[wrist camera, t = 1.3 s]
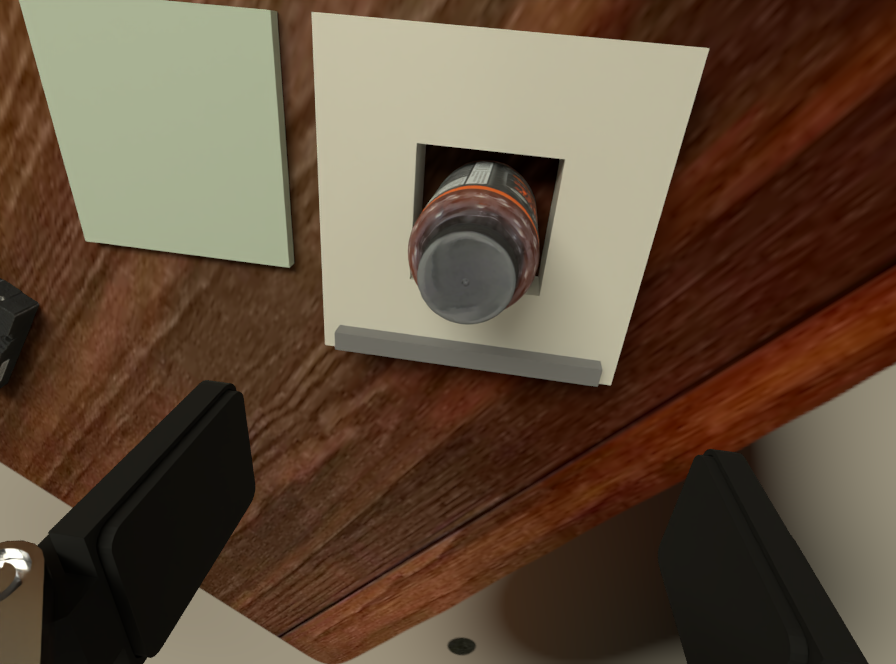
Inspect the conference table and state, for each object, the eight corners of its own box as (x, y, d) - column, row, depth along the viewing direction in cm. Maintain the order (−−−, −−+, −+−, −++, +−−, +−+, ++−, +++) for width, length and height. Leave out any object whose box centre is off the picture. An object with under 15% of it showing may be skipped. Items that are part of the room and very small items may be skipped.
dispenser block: (332, 16, 26) (303, 10, 23) (689, 49, 25) (717, 47, 21) (340, 323, 35) (319, 352, 31) (604, 359, 33) (613, 394, 30)
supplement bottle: (552, 233, 30) (566, 319, 20) (462, 271, 32) (435, 367, 22) (511, 137, 28) (504, 180, 18) (417, 184, 30) (364, 247, 20)
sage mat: (28, -12, 27) (15, -14, 27) (277, 11, 26) (270, 10, 26) (94, 237, 34) (85, 241, 33) (294, 263, 33) (289, 267, 32)
